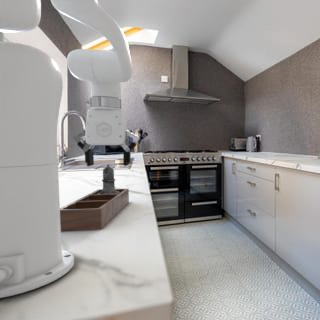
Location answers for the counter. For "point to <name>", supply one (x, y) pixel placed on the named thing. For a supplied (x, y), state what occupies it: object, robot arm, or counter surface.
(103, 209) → the divided wooden tray
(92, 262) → the counter surface
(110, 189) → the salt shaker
